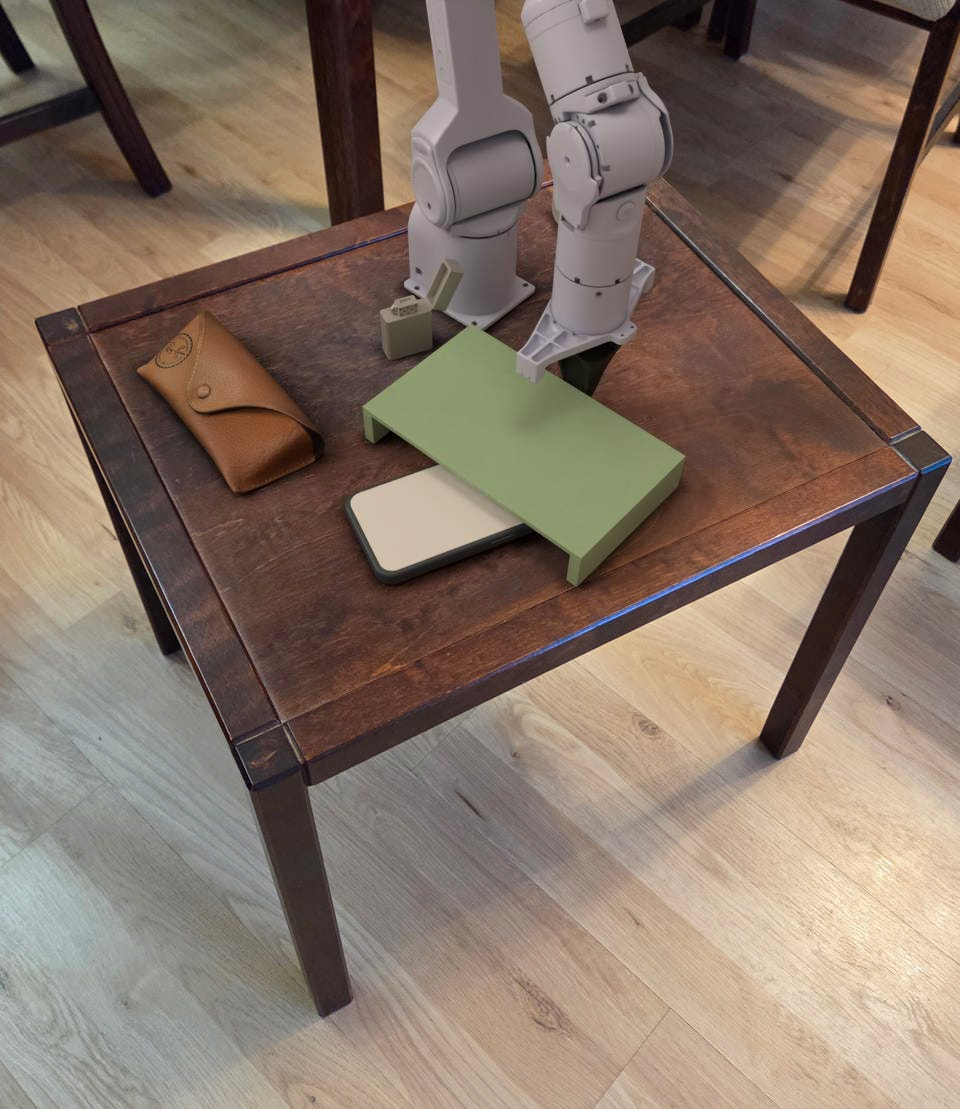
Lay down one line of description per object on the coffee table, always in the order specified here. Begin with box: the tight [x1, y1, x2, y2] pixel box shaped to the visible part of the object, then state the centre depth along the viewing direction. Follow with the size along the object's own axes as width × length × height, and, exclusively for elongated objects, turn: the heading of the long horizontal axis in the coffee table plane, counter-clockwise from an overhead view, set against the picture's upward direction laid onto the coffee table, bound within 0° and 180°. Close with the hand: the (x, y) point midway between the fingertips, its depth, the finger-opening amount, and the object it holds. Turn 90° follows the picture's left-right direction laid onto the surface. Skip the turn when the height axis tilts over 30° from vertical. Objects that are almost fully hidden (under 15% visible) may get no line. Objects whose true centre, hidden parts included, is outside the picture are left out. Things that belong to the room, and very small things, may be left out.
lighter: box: [379, 258, 464, 361], centre depth 89 cm, size 7×2×8 cm, turn 114°
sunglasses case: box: [136, 307, 326, 494], centre depth 86 cm, size 18×7×7 cm
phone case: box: [344, 462, 536, 585], centre depth 81 cm, size 9×2×16 cm
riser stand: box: [362, 324, 687, 588], centre depth 83 cm, size 22×13×4 cm, turn 49°
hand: (577, 395), depth 87 cm, fingers closed
